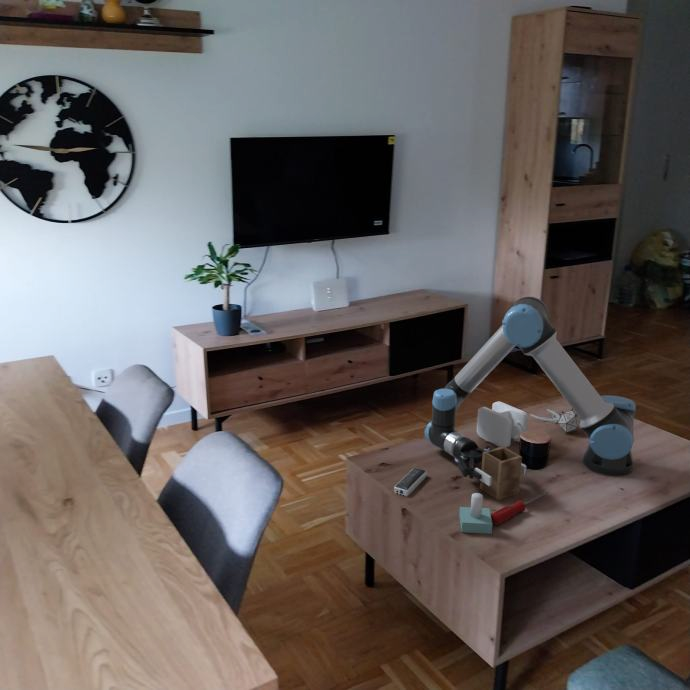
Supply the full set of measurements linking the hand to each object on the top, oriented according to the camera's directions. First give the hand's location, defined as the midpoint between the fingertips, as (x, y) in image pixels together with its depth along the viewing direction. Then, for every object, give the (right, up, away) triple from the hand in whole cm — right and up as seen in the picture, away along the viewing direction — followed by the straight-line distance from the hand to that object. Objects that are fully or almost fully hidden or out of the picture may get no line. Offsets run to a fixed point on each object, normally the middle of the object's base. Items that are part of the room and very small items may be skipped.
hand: (508, 475), depth 207 cm
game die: (+32, +7, +45) cm, 56 cm away
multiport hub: (-28, -5, +8) cm, 29 cm away
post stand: (-12, -11, -13) cm, 21 cm away
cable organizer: (+6, +5, +39) cm, 39 cm away
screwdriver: (+3, -9, -6) cm, 11 cm away
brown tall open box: (-2, -5, +5) cm, 7 cm away
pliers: (+30, +10, +56) cm, 64 cm away
